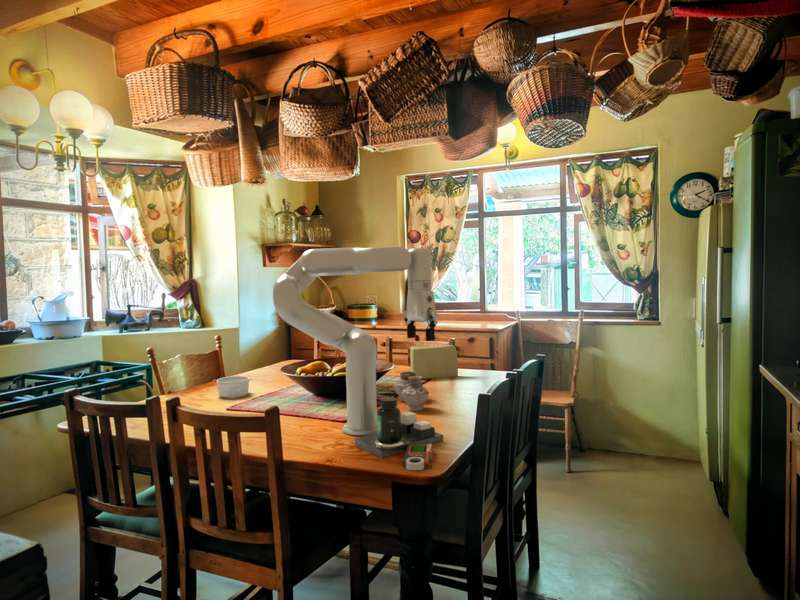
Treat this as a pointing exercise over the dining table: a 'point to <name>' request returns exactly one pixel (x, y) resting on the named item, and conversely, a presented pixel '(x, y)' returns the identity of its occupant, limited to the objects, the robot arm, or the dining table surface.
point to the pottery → (411, 390)
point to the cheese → (434, 361)
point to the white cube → (422, 425)
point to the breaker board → (407, 436)
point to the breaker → (408, 418)
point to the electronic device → (418, 456)
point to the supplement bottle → (388, 421)
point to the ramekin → (233, 386)
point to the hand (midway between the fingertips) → (420, 339)
